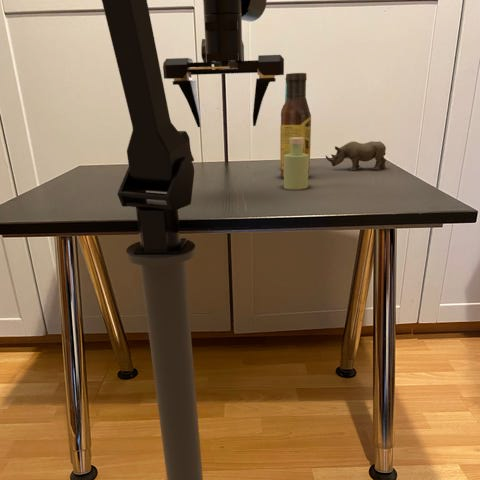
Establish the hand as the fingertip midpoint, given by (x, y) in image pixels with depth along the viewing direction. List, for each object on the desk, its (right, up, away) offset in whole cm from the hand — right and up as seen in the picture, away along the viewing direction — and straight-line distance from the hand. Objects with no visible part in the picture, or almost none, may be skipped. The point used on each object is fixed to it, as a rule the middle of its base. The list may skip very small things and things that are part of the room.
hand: (226, 126), depth 80 cm
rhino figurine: (+29, +2, +30) cm, 41 cm away
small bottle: (+13, -7, +13) cm, 20 cm away
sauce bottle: (+14, -2, +23) cm, 27 cm away
